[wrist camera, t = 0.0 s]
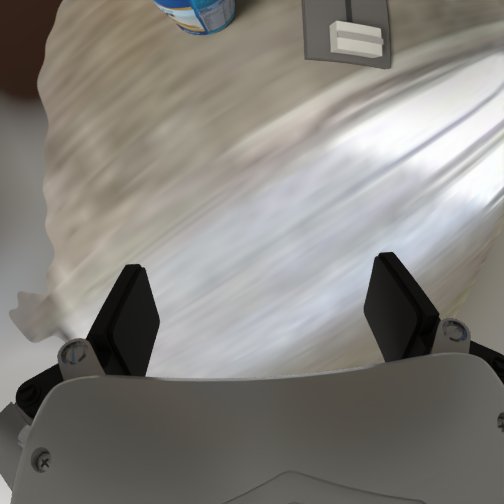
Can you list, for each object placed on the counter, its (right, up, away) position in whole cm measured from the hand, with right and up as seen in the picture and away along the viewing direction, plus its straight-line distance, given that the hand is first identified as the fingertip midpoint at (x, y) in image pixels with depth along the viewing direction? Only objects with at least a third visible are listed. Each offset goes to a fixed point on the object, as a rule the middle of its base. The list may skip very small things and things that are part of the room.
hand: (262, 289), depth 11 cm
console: (+12, +36, +16) cm, 41 cm away
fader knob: (+13, +29, +17) cm, 36 cm away
